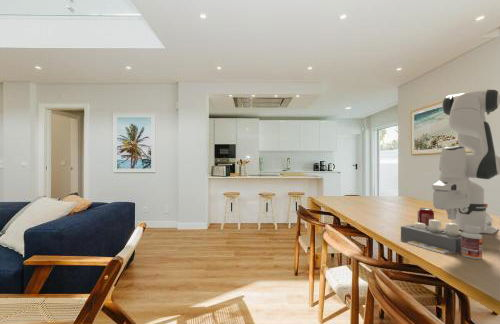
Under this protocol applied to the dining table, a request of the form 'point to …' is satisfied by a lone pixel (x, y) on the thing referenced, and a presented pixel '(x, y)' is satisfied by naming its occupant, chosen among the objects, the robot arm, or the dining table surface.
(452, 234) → the button
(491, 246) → the dining table surface
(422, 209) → the soda can
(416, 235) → the grey egg tray
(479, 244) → the pill bottle
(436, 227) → the cream white egg
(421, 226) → the cream oval piece
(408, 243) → the card
